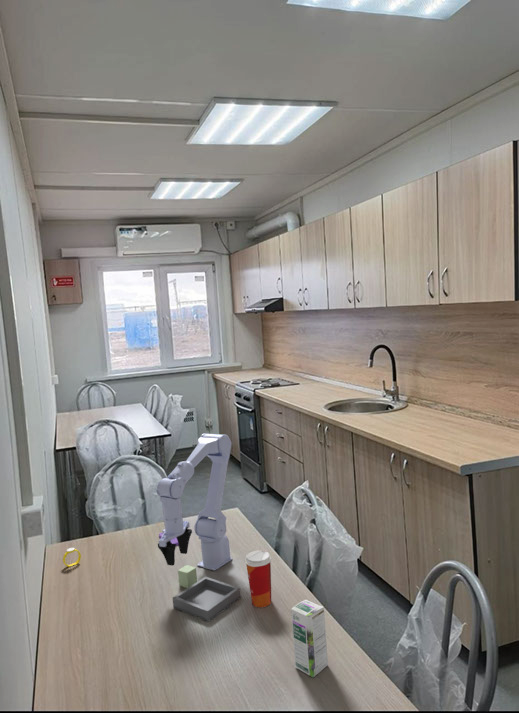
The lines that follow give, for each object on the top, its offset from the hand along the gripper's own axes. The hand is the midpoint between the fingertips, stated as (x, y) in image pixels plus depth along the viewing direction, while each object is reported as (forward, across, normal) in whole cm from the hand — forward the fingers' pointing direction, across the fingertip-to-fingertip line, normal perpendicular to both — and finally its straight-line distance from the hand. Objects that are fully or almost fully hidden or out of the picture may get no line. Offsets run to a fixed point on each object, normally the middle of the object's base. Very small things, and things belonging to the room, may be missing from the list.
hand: (177, 558), depth 163 cm
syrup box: (+10, +24, +50) cm, 56 cm away
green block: (+10, -3, +1) cm, 10 cm away
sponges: (+10, -31, -22) cm, 39 cm away
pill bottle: (+10, +1, +28) cm, 30 cm away
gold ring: (+10, -4, -47) cm, 48 cm away
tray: (+9, +6, +12) cm, 17 cm away
